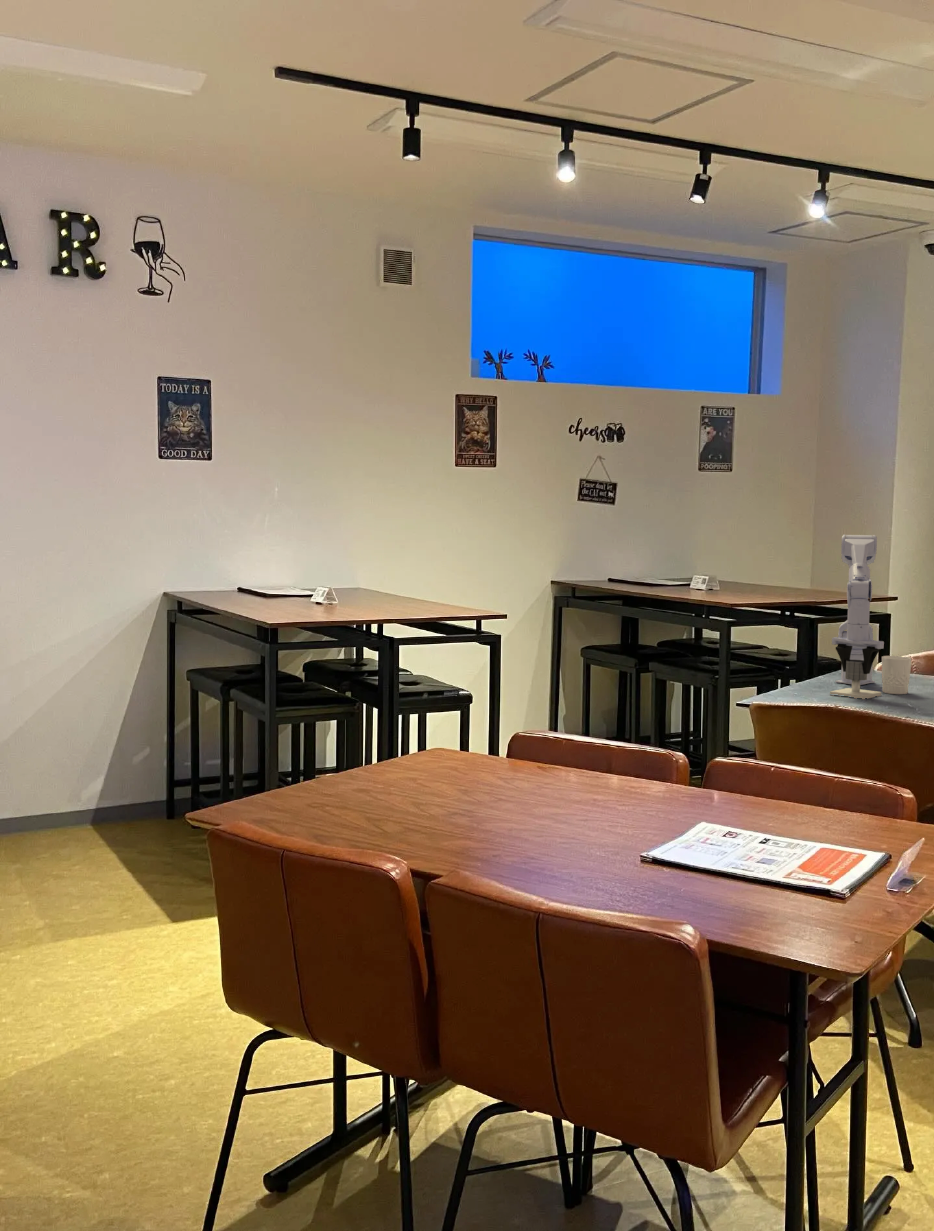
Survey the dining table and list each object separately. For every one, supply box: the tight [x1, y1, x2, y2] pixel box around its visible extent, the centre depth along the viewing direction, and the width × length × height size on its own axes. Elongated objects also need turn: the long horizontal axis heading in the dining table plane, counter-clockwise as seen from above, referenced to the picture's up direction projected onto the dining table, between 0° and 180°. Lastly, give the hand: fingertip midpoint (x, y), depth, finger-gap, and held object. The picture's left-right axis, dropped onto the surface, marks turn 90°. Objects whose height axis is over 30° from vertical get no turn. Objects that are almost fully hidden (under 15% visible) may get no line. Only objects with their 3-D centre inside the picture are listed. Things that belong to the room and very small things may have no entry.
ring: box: [845, 660, 867, 680], centre depth 332 cm, size 6×6×5 cm
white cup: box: [881, 655, 912, 695], centre depth 337 cm, size 8×8×10 cm
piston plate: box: [829, 680, 882, 700], centre depth 332 cm, size 10×10×4 cm
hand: (856, 672), depth 332 cm, fingers closed on ring, 6 cm apart
